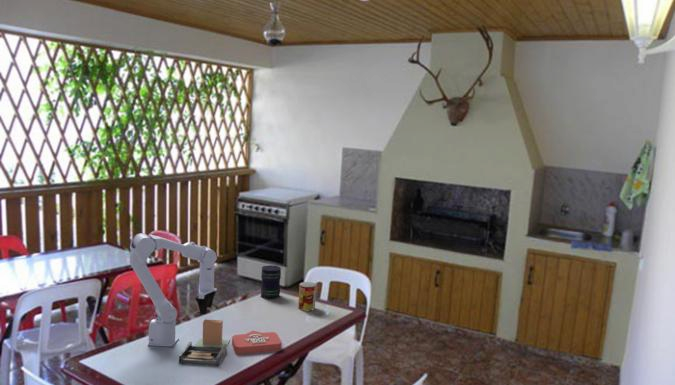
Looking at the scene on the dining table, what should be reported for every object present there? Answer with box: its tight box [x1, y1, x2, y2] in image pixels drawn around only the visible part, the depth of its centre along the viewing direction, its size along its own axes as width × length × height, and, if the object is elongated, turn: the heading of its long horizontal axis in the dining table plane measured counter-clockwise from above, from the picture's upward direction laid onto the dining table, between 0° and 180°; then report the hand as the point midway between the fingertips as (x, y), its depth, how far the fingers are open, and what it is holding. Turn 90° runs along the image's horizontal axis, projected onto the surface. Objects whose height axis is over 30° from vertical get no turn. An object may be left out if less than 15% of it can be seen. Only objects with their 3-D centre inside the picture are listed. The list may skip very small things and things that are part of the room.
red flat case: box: [231, 330, 282, 355], centre depth 197 cm, size 18×4×15 cm
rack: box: [178, 341, 227, 367], centre depth 183 cm, size 14×12×3 cm
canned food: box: [298, 281, 317, 312], centre depth 241 cm, size 8×8×12 cm
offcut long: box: [186, 355, 214, 360], centre depth 180 cm, size 9×2×2 cm, turn 87°
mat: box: [194, 337, 231, 348], centre depth 195 cm, size 12×8×1 cm, turn 89°
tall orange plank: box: [202, 319, 224, 345], centre depth 195 cm, size 7×2×9 cm, turn 89°
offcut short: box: [191, 352, 211, 356], centre depth 182 cm, size 7×2×2 cm, turn 91°
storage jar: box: [260, 264, 282, 300], centre depth 256 cm, size 10×10×15 cm
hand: (205, 310), depth 202 cm, fingers open, 7 cm apart
